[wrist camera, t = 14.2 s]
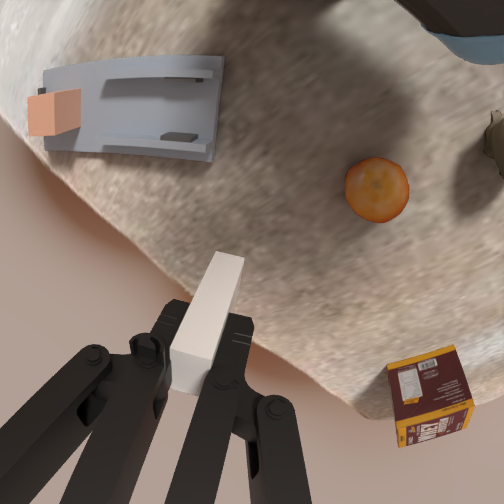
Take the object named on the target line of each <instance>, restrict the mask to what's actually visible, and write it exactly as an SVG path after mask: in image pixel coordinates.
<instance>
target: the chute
mask: <svg viewBox="0 0 504 504" xmlns="http://www.w3.org/2000/svg"><path fill="white" fill-rule="evenodd" d="M224 60H225V57H223V56H211V55H159V56H140V57H127V58H117V59H108V60H100V61H92V62H86V63H79V64H73V65H68V66H63V67H58V68H53V69H48V70H44V72H43V88H39V89H38V95H40V94H45V93H50V92H56V91H63V90H71V89H80V88H81V127H78V128H75V129H72V130H69V131H66V132H63V133H60V134H57V135H52V136H44V147H45V151H81V152H103V153H119V154H133V155H146V156H157V157H167V158H177V159H186V160H194V161H203V162H212V161H213V160H214V157H215V145H216V134H217V124H218V114H219V104H220V95H221V86H222V77H223V68H224Z"/></svg>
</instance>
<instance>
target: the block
mask: <svg viewBox="0 0 504 504" xmlns="http://www.w3.org/2000/svg"><path fill="white" fill-rule="evenodd" d="M78 127H81V88H80V89H71V90H63V91H56V92H50V93H45V94H40V95H36V96H31V97H28V129H29V136H52V135H57V134H60V133H63V132H66V131H69V130H72V129H75V128H78Z"/></svg>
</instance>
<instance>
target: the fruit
mask: <svg viewBox="0 0 504 504" xmlns="http://www.w3.org/2000/svg"><path fill="white" fill-rule="evenodd" d="M345 196H346V199H347V201H348V203H349V205H350V207H351V208H352V209H353V211H354V212H355V213H356V214H358V215H359V216H361V217H362V218H364V219H366V220H368V221H371V222H375V223H385V222H388V221H390V220H392V219H393V218H395V217H396V216H398V215H399V214H400V213H401V212H402V211H403V209H404V208H405V206H406V204H407V202H408V199H409V184H408V181H407V178H406V175H405V173H404V171H403V170H402V168H401V166H400V165H398V164H396V163H394V162H392V161H389V160H387V159H384V158H379V157H372V158H369V159H366V160H363V161H362V162H360V163H359V164H357V165H355V166H353V167H352V168H350V169H349V171H348V172H347V174H346V177H345Z"/></svg>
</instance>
